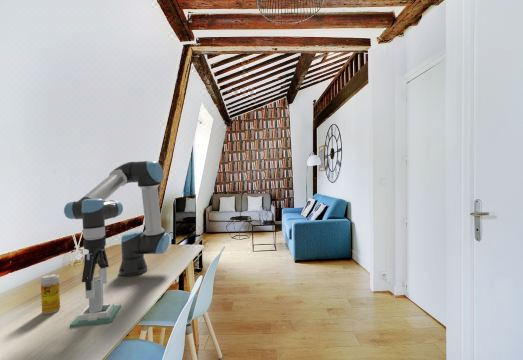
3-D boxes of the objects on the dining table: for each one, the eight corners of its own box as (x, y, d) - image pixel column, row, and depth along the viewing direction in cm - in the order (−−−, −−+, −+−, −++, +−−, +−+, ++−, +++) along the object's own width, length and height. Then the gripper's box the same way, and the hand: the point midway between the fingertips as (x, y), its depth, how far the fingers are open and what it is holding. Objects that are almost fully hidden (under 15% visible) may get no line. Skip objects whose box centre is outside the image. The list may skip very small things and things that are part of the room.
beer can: (39, 316, 111) (38, 279, 111) (44, 309, 117) (43, 274, 117) (58, 312, 114) (56, 276, 113) (61, 306, 119) (60, 272, 119)
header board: (84, 311, 115) (84, 303, 115) (121, 306, 117) (120, 299, 117) (69, 327, 102) (69, 319, 102) (111, 322, 105) (110, 314, 105)
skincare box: (91, 307, 111) (90, 277, 111) (104, 304, 113) (103, 275, 113) (88, 313, 106) (87, 282, 106) (102, 311, 108) (101, 280, 107)
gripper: (96, 231, 121) (98, 279, 121) (68, 246, 96) (71, 306, 97) (114, 230, 122) (116, 277, 123) (92, 245, 98) (95, 303, 99)
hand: (97, 290), depth 110 cm, fingers open, 13 cm apart
